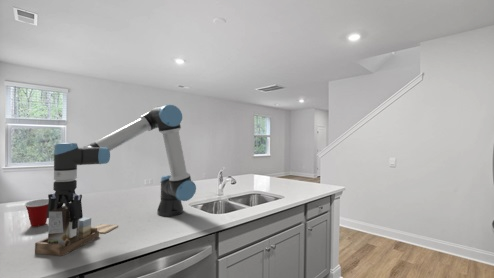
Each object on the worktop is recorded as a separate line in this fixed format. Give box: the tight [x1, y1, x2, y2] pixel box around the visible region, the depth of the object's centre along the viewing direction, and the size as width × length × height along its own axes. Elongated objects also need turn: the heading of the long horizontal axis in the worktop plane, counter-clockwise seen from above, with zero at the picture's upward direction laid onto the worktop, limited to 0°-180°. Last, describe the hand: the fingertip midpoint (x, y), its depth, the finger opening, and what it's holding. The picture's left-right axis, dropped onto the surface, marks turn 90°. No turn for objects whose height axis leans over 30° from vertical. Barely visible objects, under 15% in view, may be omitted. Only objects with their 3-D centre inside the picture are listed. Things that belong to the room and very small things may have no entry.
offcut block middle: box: [79, 224, 92, 235], centre depth 103 cm, size 6×4×3 cm, turn 79°
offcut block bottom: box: [79, 231, 91, 240], centre depth 103 cm, size 6×4×3 cm, turn 79°
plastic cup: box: [24, 198, 49, 228], centre depth 118 cm, size 11×11×12 cm
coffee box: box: [47, 205, 79, 248], centre depth 95 cm, size 9×6×16 cm
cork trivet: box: [93, 223, 119, 234], centre depth 114 cm, size 10×9×1 cm
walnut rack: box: [34, 226, 100, 257], centre depth 97 cm, size 12×18×4 cm, turn 171°
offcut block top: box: [79, 216, 92, 228], centre depth 103 cm, size 6×4×3 cm, turn 79°
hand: (64, 235), depth 95 cm, fingers closed on coffee box, 7 cm apart
